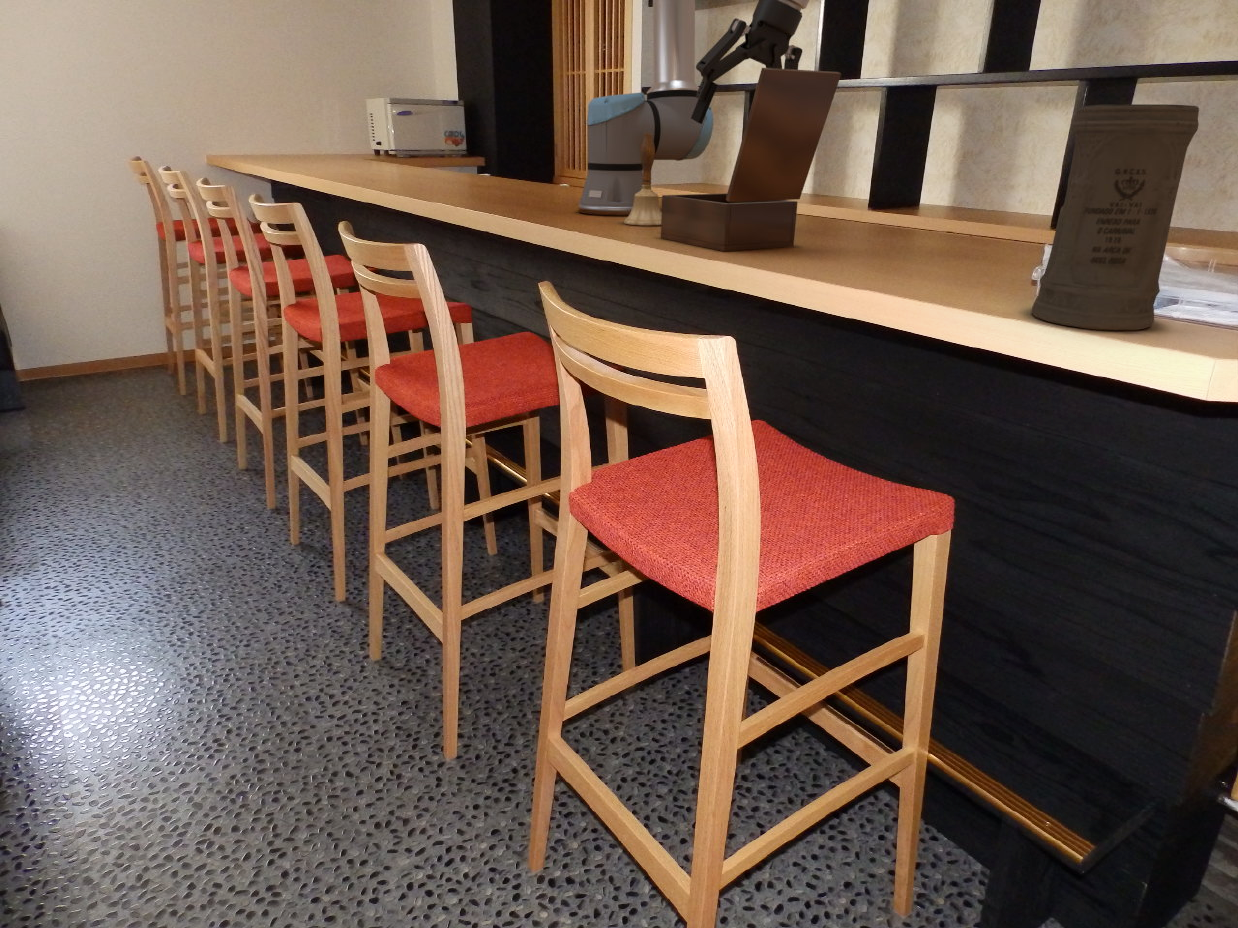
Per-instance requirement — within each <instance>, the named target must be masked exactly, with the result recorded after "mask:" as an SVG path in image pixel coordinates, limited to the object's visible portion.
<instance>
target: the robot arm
mask: <svg viewBox="0 0 1238 928" xmlns="http://www.w3.org/2000/svg"><path fill="white" fill-rule="evenodd" d="M809 2H810V0H758V1H757V4H756V6H755V9H754V11H753V13H752V21H751V22H750V23H749V25H748V24H747V22H746V21H745V20H743V19H740V18H737V17H735V18H734V19H733V20H732V21H731V24H730V26H729V27H728V30H727V31H726V32H725V33H724V35H722V36H721V37H720V38H719V40H717V42H716V43H715V44H714V45H713V46H712V47H711V48H710V49H709V50H708V52H706V53H705V55H704V56H702V58H701V59H699V61H698V62H697V63H696V0H652V35H653V36H652V38H653V39H652V40H653V43H652V45H653V46H652V48H653V51H652V52H653V84H652V85H651V87H650V88H649V89H648V90H647V91H646V97H645V94H644V92H630V93H623V94H620V93H619V94H613V95H605V96H599V97H594V98H592V99H591V100H590V101H589V103H588V104H587V117H586V122H585V123H586V127H587V128H586V140H587V141H586V142H587V144H586V145H587V146H586V147H587V152H586V153H587V156H586V157H587V159H586V161H587V169H586V170H587V173H586V177H585V181H584V185H583V188H582V191H581V192H582V193H581V198H580V199H579V201H578V212H579V213H582V214H586V215H595V216H597V215H598V216H629V215H630V213H631V211H632V207H633V203H634V196H635V194H636V193H638V192H639V191H641V189H642V181H643V180H642V179H643V166H642V162H641V146H642V143H643V140H644V137H645V134H652V138H653V142H654V146H655V156H654V161H678V162H680V161H684V160H695V159H697V158H699V157H700V156H701V155H702V154H703V153H704V152H705V151H706V149H707V147H708V146H709V143H710V141H711V138H712V134H713V130H714V113H713V111H712V107H711V102H712V100H713V98H714V96H715V93H716V91H717V88H718V86H719V84H718V83H716V82H715V81H717V80H718V79H719V78H721V77H723V76H724V75H725V74H727V73H728V72H729V71H731V70H732V69H734V68H736V67H737V66H738V65H740V64H741V63H743V62H744V61H746V60H749V59H751V60H752V61H755V62H757V63H760V64H761V65H764V66H765V68H777V69H794V70H799V63H800V60H801V58H802V55H803V49H802V48H801V47H799V46H796V45H794V44H791V45H790V42H791V41H790V40H791V39H792V37H793V36H794V35H795V34H796V32H797V30H798V28H799V26H800V22H801V21H802V19H803V13H802V12H801V11H802V10H805V9H806V8H807V6H808V4H809ZM742 37H744V40H745V41H743V42H742V43H740V44H739V45H737V46H736V47H735V49H734V50H732V51H731V52H730V50H731V49H732V48H733V47H734V46H735V45H736V44H737V43H738V41H739V40H740V39H741V38H742ZM727 53H728V54H727ZM783 56H784V63H783V61H782V57H783ZM696 70H697V71H698V72H699V73H700V76H701V77H702V80H701V82H700V84H699V86H698V84H697V83H696Z"/></svg>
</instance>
